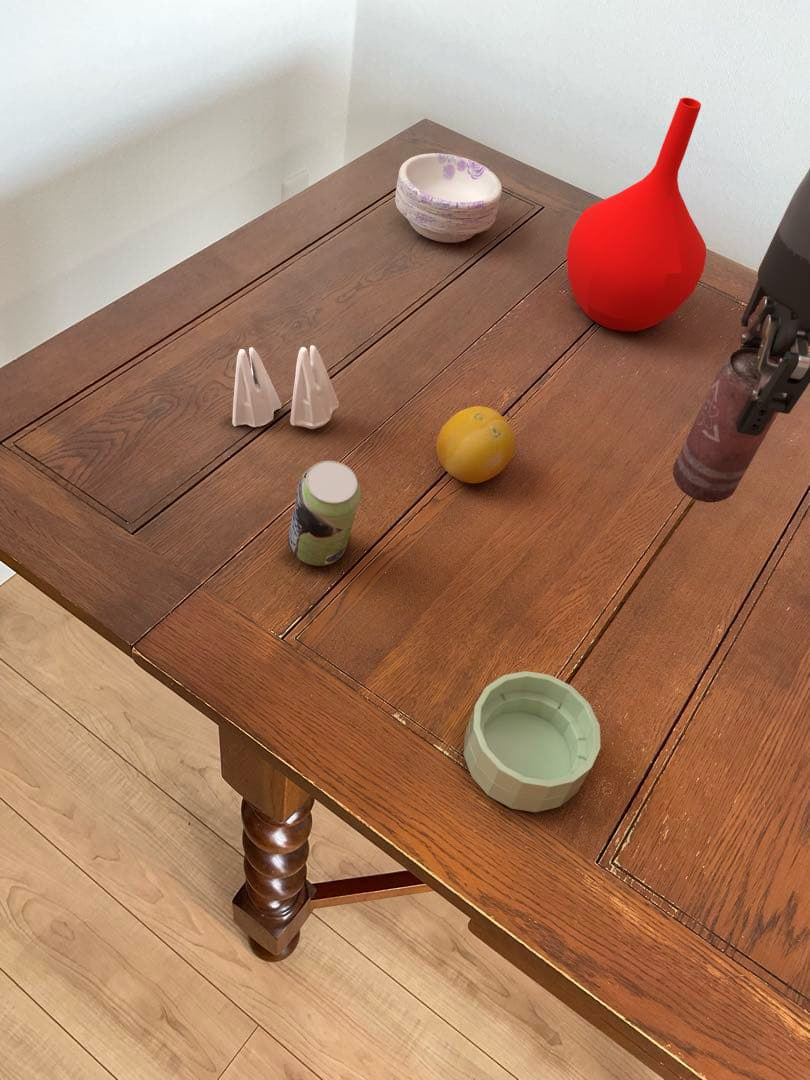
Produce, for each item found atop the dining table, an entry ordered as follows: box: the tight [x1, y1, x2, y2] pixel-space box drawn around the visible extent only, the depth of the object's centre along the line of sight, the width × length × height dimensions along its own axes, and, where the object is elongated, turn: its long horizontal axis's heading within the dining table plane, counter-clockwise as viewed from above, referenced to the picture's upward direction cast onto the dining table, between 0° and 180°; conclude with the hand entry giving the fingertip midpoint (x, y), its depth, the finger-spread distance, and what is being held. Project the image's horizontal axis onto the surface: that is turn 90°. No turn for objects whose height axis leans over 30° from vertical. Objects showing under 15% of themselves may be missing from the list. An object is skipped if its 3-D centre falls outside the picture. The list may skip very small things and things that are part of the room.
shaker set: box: [231, 344, 340, 430], centre depth 109 cm, size 12×4×11 cm, turn 89°
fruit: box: [435, 405, 516, 484], centre depth 109 cm, size 9×8×8 cm
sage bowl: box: [463, 670, 601, 813], centre depth 86 cm, size 11×11×6 cm
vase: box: [566, 97, 707, 333], centre depth 126 cm, size 18×18×30 cm
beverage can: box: [287, 460, 362, 567], centre depth 96 cm, size 6×7×12 cm
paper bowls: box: [394, 152, 503, 244], centre depth 142 cm, size 15×15×8 cm
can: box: [672, 348, 780, 503], centre depth 87 cm, size 6×6×14 cm
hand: (742, 405), depth 85 cm, fingers closed on can, 6 cm apart
